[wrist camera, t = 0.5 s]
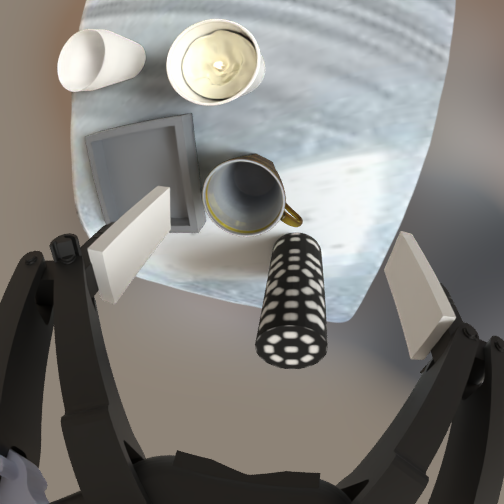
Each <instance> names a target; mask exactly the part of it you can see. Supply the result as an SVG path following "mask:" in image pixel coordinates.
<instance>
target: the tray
mask: <svg viewBox="0 0 504 504" xmlns="http://www.w3.org/2000/svg"><path fill="white" fill-rule="evenodd" d="M85 140H86V146H87V151H88V156H89V160H90V165H91V170H92V174H93V178H94V182H95V186H96V190H97V194H98V198H99V202H100V205H101V209H102V213H103V216H104V219H105V223H106V225H107V224H109V223H111V222H116V221H117V220H118V219H119V218H120V217H122V216H123V215H124V214H125V213H126V212H127V211H128V210H130V209H131V208H132V207H133V206H134V205H135V204H136V203H138V202H139V201H140V200H141V199H142V198H144V197H145V196H146V195H147V194H148V193H150V192H151V191H152V190H153V189H154V188H156V187H157V186H163V187H170V223H171V230H170V231H169V233H199V232H200V230H201V229H202V227H203V225H204V224H205V222H206V217H205V210H204V204H203V199H202V189H201V182H200V174H199V167H198V159H197V151H196V143H195V134H194V126H193V116H192V113H191V114H184V115H177V116H170V117H164V118H159V119H153V120H148V121H143V122H138V123H133V124H129V125H124V126H120V127H116V128H112V129H108V130H104V131H100V132H97V133H94V134H91V135H88V136H86V137H85Z"/></svg>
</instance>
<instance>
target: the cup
mask: <svg viewBox="0 0 504 504" xmlns="http://www.w3.org/2000/svg"><path fill="white" fill-rule="evenodd" d="M145 59H146V54H145V50H144V48H143V47H142V46H141V45H140V44H138V43H136V42H134V41H132V40H129V39H127V38H125V37H123V36H120V35H118V34H116V33H113V32H111V31H108V30H103V29H85V30H81V31H79V32H77V33H76V34H75V35H73V36H72V37H71V38H70V39H69V40H68V41H67V42H66V44H65V45H64V47H63V49H62V51H61V53H60V56H59V60H58V68H57V71H58V77H59V80H60V82H61V84H62V86H63V87H65V88H66V89H67V90H69V91H72V92H77V91H92V90H96V89H99V88H102V87H105V86H108V85H112V84H115V83H118V82H121V81H125V80H128V79H131V78H133V77H135V76H136V75H138V74H139V73H140V71H141V70H142V68H143V66H144V64H145Z"/></svg>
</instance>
